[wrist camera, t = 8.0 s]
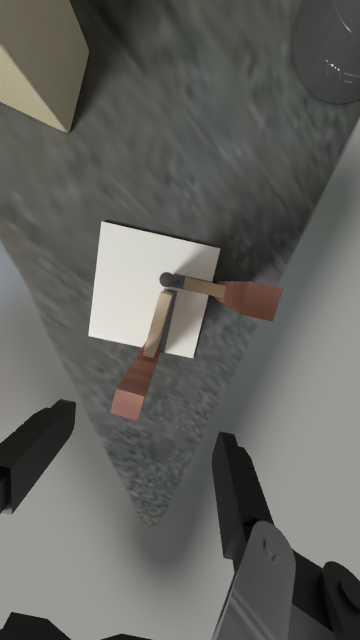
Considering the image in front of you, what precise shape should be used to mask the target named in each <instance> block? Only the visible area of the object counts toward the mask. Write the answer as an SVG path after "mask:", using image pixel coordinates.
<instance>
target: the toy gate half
mask: <svg viewBox="0 0 360 640" xmlns="http://www.w3.org/2000/svg"><path fill="white" fill-rule="evenodd" d="M173 295H174V293H173V292H170V291H166V290H164V291H162V292H160V295H159V298H158V302H157V305H156V309H155V312H154V316H153V319H152V323H151V327H150V330H149V334H148V337H147V341H146V342H145V344H144V346H143V347H142V349H141V350H140V352H139V353H138V355H137V357H136V358H135V360H134V361H133V363H132V365H131V366H130V368H129V369H128V371H127V372H126V374H125V376H124V377H123V379H122V380H121V382H120V384H119V385H118V387H117V388H116V392H115V396H114V400H113V403H112V407H111V411H110V413H112V414H116V415H119V416H123V417H127V418H130V419H134V420H138V417H139V414H140V412H141V409H142V406H143V403H144V400H145V397H146V394H147V391H148V388H149V385H150V382H151V379H152V376H153V373H154V370H155V367H156V364H157V361H158V358H159V354H160V351H161V348H162V346H161V345H159V342H160V338H161V335H162V332H163V328H164V325H165V322H166V318H167V315H168V311H169V308H170V305H171V301H172V298H173Z"/></svg>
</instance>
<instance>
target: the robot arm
mask: <svg viewBox="0 0 360 640" xmlns="http://www.w3.org/2000/svg"><path fill="white" fill-rule="evenodd" d="M292 46H293V59H294V63H295V67H296V71H297V73H298V75H299V77H300V80H301V82H302V83H303V85H304V86H305V87H306V88H307V90H308V91H309V92H310V93H311V94H313V95H314V96H315V97H317V98H318V99H320V100H323V101H325V102H328V103H334V104H344V103H351V102H354V101H357V100H359V99H360V0H303V1H302V4H301V6H300V8H299V11H298V14H297V18H296V21H295V25H294V32H293V41H292ZM75 410H76V403H75V402H73V401H67V400H62V399H60V400H58V401H57V402H56V404H54V405H53V406H52V407H51V408H44V409H42V410H40V411H39V412H37V413H35V414H33V415H32V416H31V417H30V418H29V419H28V420H27V421H25V422H24V424H22V425H21V426H20V427H19V428H17V429H16V431H15V432H13V433H12V434H11V435H10V436H9V437H7V438H6V439H5V440H4V441H3V442H2V443H0V513H7V514H13V513H14V511H15V510H16V508H17V507H18V506H19V504H20V503H21V502H22V500H23V499H24V498H25V496H26V495H27V493H28V492H29V491H30V490H31V488H32V487H33V486H34V484H35V483H36V482H37V480H38V479H39V478H40V476H41V475H42V474H43V472H44V471H45V469H46V468H47V467H48V465H49V464H50V463H51V461H52V460H53V459H54V457H55V456H56V455H57V453H58V452H59V451H60V449H61V448H62V447H63V445H64V444H65V443H66V441H67V440H68V439H69V437H70V435H71V434H72V431H73V429H74V424H75ZM212 471H213V479H214V487H215V494H216V502H217V510H218V518H219V526H220V534H221V541H222V549H223V557H224V558H227V559H232V560H233V566H234V572H235V573H234V576H233V578H232V581H231V584H230V587H229V590H228V593H227V595H226V598H225V601H224V604H223V607H222V610H221V613H220V616H219V618H218V622H217V624H216V627H215V630H214V633H213V636H212V639H211V640H360V581H359V580H358V579H357V578H356V577H355V576H354V575H353V574H352V573H351V572H350V571H349V570H348V569H346V568H345V567H344V566H342V565H340V564H339V563H336V562H332V561H330V562H327V563H326V564H325V565H324V567H323V568H321V567H319V566H318V565H316V564H315V563H313V562H311V561H310V560H308V559H306V558H305V557H303V556H301V555H300V554H298V553H297V552H295V551H294V550H293V549H292V548H291V546H290V544H289V543H288V541H287V539H286V538H285V536H284V535H283V534H282V533H281V531H280V530H279V529H277V528H276V527H275V525H274V523H273V520H272V517H271V514H270V511H269V509H268V506H267V503H266V500H265V497H264V494H263V492H262V489H261V486H260V483H259V481H258V477H257V474H256V472H255V469H254V466H253V463H252V460H251V457H250V456H249V455H248V453H247V452H246V450H245V449H244V448H243V447H239V446H238V445H237V442H236V438H235V435H234V434H230V433H225V432H219V434H218V437H217V441H216V444H215V448H214V451H213V455H212ZM0 640H71V639H70V638H68V637H67V636H66V635H65V634H64V633H63V632H62V631H60V630H59V629H58V628H57V627H56V626H55V625H53V624H52V623H51V622H50V621H49V620H48V619H44V618H40V617H34V616H29V615H24V614H19V613H14V612H11V614H10V616H9V618H8V619H7V621H6V623H5V625H4V627H3V629H0ZM102 640H151V639H146V638H141V637H136V636H131V635H126V634H119V635H116V636H112V637H108V638H105V639H102Z"/></svg>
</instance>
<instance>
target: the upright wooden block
mask: <svg viewBox="0 0 360 640" xmlns="http://www.w3.org/2000/svg"><path fill="white" fill-rule="evenodd" d="M88 56H89V49H88V46H87V43H86V41H85V38H84V36H83V33H82V31H81V28H80V25H79V23H78V21H77V18H76V16H75V13H74V10H73V8H72V6H71V3H70V1H69V0H0V102H2V103H4V104H6V105H8V106H10V107H13V108H15V109H17V110H19V111H21V112H23V113H25V114H27V115H29V116H31V117H33V118H36V119H38V120H40V121H42V122H44V123H46V124H48V125H50V126H52V127H54V128H56V129H59V130H61V131H63V132H67V133H68V132H69V131H70V129H71V125H72V121H73V117H74V113H75V109H76V104H77V101H78V97H79V93H80V89H81V85H82V80H83V76H84V73H85V68H86V64H87V60H88Z"/></svg>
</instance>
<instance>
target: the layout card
mask: <svg viewBox="0 0 360 640" xmlns="http://www.w3.org/2000/svg"><path fill="white" fill-rule="evenodd" d="M219 253H220V248H215V247H211V246H207V245H202V244H198V243H194V242H189V241H185V240H180V239H176V238H172V237H167V236H163V235H159V234H154V233H150V232H145V231H141V230H137V229H132V228H128V227H124V226H119V225H115V224H111V223H106V222H102V223H101V231H100V240H99V249H98V257H97V266H96V275H95V283H94V292H93V301H92V310H91V318H90V327H89V336H91V337H96V338H101V339H105V340H110V341H115V342H119V343H124V344H129V345H133V346H138V347H143V346H144V344H145V342H146V341H147V337H148V334H149V330H150V327H151V323H152V319H153V316H154V312H155V309H156V305H157V302H158V298H159V295H160V292H162V291H164V290H166V291H170V292H173V293H174V295H173V298H172V301H171V305H170V308H169V311H168V315H167V318H166V322H165V325H164V328H163V332H162V335H161V338H160V342H159V345H161V346H162V348H161V351H160V352H166V353H171V354H175V355H180V356H185V357H189V358H193V356H194V352H195V348H196V344H197V340H198V336H199V332H200V328H201V324H202V320H203V316H204V312H205V308H206V304H207V300H208V296H209V295H207V294H202V293H198V292H193V291H189V290H184V289H183V286H184V281H185V277H188V278H192V279H197V280H201V281H206V282H210V283H212V280H213V276H214V272H215V269H216V265H217V261H218V257H219ZM164 272H169V273H171V274H173V275H175V276H176V277H177V278H178V282H177V283H176V284H175V285H173V286H170V287H163V286H162V285H161V284H160V281H159V278H160V276H161V274H162V273H164Z"/></svg>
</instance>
